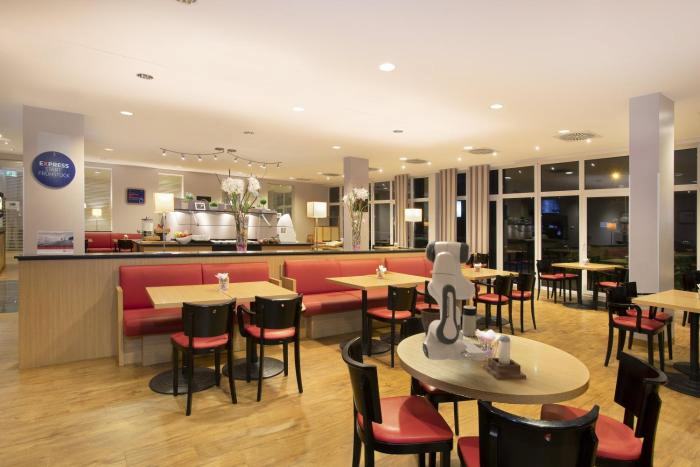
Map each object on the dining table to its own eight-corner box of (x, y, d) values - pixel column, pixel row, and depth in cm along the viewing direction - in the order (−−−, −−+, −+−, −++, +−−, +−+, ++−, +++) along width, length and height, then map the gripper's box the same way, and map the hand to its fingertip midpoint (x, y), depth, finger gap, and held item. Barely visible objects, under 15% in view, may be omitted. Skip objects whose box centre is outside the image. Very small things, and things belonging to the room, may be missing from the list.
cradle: (482, 368, 190) (483, 356, 190) (510, 367, 192) (510, 356, 192) (497, 379, 176) (497, 367, 176) (526, 378, 178) (526, 366, 178)
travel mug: (478, 336, 245) (479, 307, 245) (469, 337, 241) (470, 308, 241) (468, 332, 252) (469, 305, 252) (459, 334, 248) (460, 306, 248)
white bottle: (496, 368, 186) (497, 333, 186) (506, 367, 187) (507, 333, 187) (501, 372, 181) (502, 337, 181) (511, 371, 182) (512, 336, 182)
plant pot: (436, 331, 253) (437, 307, 253) (449, 338, 239) (449, 312, 239) (415, 333, 249) (416, 308, 249) (427, 340, 235) (427, 313, 234)
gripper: (467, 350, 171) (497, 349, 172) (449, 336, 191) (476, 336, 193) (467, 364, 171) (496, 363, 172) (449, 349, 191) (476, 349, 193)
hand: (486, 349), depth 183 cm, fingers open, 8 cm apart
